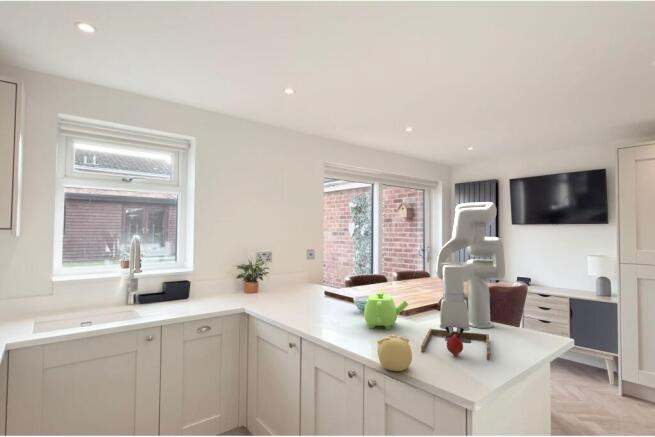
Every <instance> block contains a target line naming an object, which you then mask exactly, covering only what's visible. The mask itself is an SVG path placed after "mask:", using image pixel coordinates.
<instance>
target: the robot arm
mask: <svg viewBox="0 0 655 437" xmlns="http://www.w3.org/2000/svg"><path fill="white" fill-rule="evenodd" d="M497 211H498V209H497V207H496V205H495V203H494V202H492V201H483V202H466V203H465V202H464V203H459V204H458V205H456V207H455V214H454V219H453V220H454V221H453V228H452V234H451V238H450V239H449V241H447V242H446V243H445V244H444V245H443V247H442V248H441V249H440V250H439V252H438V256H437V260H436V266H435V272H436V273H435V274H436V276H437V278H438V279H440V280H442V296H443V298H442V299H441V302H440V317H439V319H440V325H439V328H440V329H441V330H447V331H448V332H449V333H450V335H451V337H452V336H453V335H454V331H455V330H454V328H456V331H457V332H456V336H457V337H458V338H459V335H460V334H461V333H462V332H469V331H470V330H471V329H470V328H478V329H491V328H493V327H494V326H495V325H494V322H492V321H491V309H490V308H491V307H490V302H491V301H490V288H489V286H488V284H487V283H486V281H485V280H490V281H502V280H503V279H504V278H505V275H506V262H505V250H504V249H505V248H504V243H503V241H502V239H501V238H500V237H497V236H486V232H485V231H486V230H485V228H487V227H489V226H491V224H493V222H494V221H495V220H496V218H497V217H496V216H497ZM463 249H466V252H467V254H468V255H469V256H470V257H474V258H470V259H468V260H467V261H466V262H464V261H463V262H462V261H459V262H458V261H447V260H448V258H449V257H450V256H451V255H452V254H454V253H456V252H458V251H461V250H463ZM475 257H476V258H475ZM477 257H478V258H477ZM485 258H491V259H485ZM465 282H467V294H466V293H465V290H464V287H465V284H464V283H465ZM466 299H467V300H466Z"/></svg>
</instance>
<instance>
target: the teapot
mask: <svg viewBox="0 0 655 437" xmlns="http://www.w3.org/2000/svg"><path fill="white" fill-rule="evenodd" d="M368 296H369V298H368V300H367V303H366V306H365V311H364V313H363V317H364V320H365V322H366V323H367V325H369V326H368V328H369V329H376V327H377V326H382V327H383V326H384V328H385V329H387V330H390V329H392V328H393V327H392V326H393V325H395V323H396V322H397V318H398V315H399V314H400V313H402V312H403V311H404V310H405V309H406V308H407V307H408V306H409V303H408V302H407V301H406V300H402V302H401V303H400V304H399V305H398V306H396V304H395V302H394V299H393V297H392V296H391V295H389V294H388V295H386V294H384V289H380V290H379V292H376V293H375V294H372V295H368Z"/></svg>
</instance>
